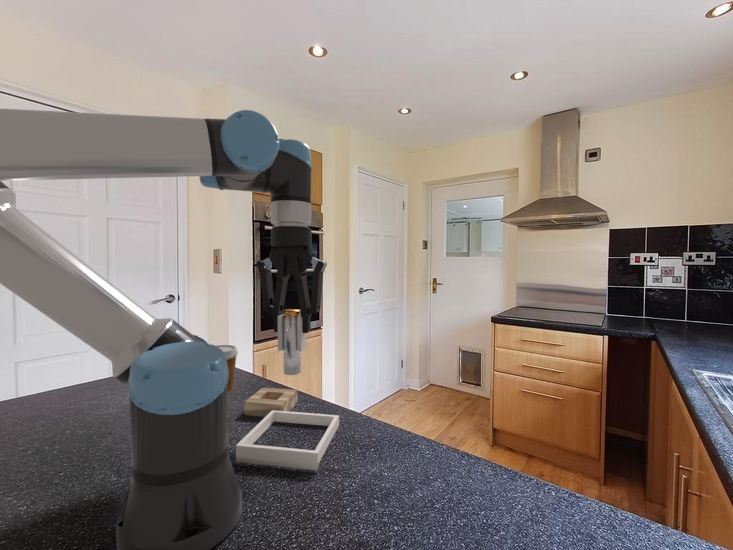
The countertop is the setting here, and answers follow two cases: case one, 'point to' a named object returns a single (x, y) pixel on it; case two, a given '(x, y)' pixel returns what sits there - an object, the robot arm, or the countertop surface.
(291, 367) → the pin
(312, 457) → the rectangular frame
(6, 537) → the countertop surface
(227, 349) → the disposable coffee cup
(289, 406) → the socket block
